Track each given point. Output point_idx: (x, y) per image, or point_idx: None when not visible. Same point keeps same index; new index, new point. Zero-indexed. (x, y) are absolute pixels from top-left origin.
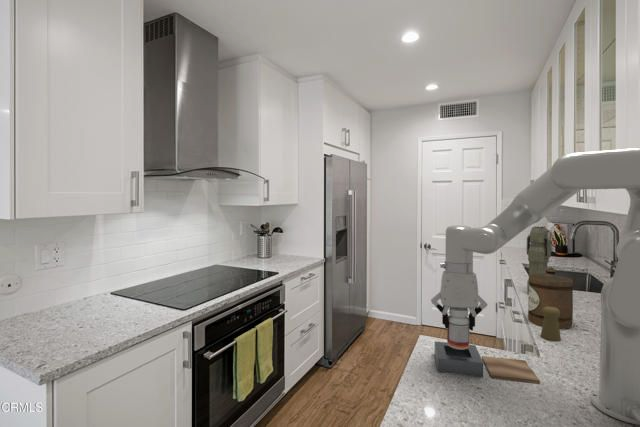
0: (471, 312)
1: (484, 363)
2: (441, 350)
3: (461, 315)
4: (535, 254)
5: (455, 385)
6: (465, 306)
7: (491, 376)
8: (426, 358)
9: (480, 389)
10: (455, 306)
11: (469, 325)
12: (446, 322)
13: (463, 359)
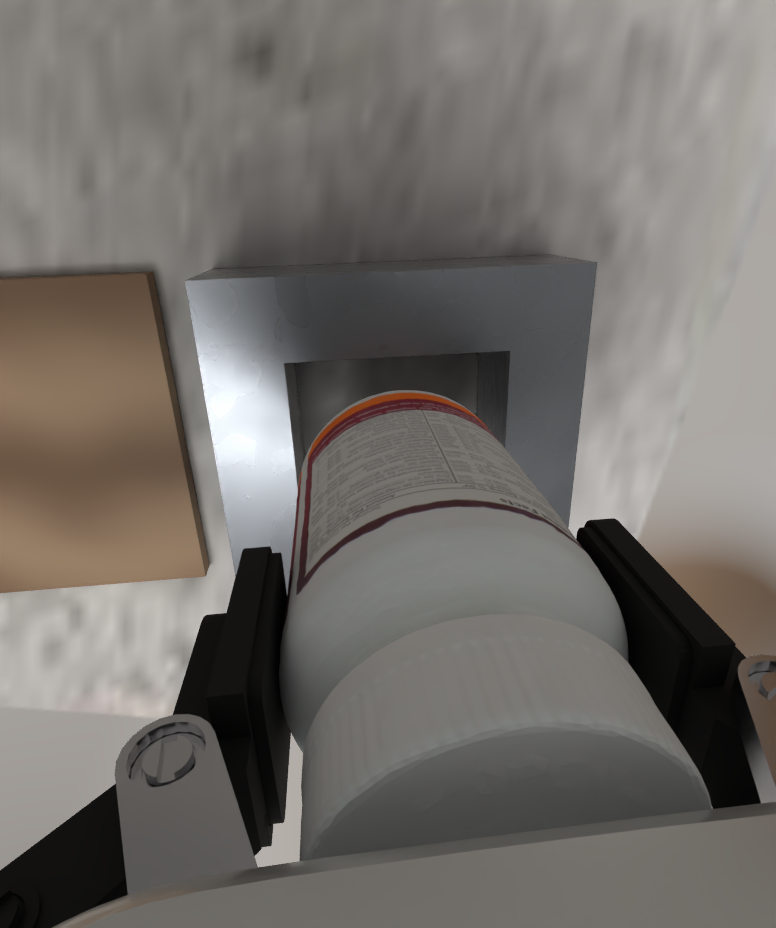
0: (222, 798)
1: (193, 490)
2: (534, 440)
3: (458, 647)
4: None
5: (442, 45)
6: (402, 897)
7: (146, 273)
8: (594, 454)
9: (244, 29)
10: (731, 829)
11: (286, 607)
12: (645, 562)
13: (364, 307)
